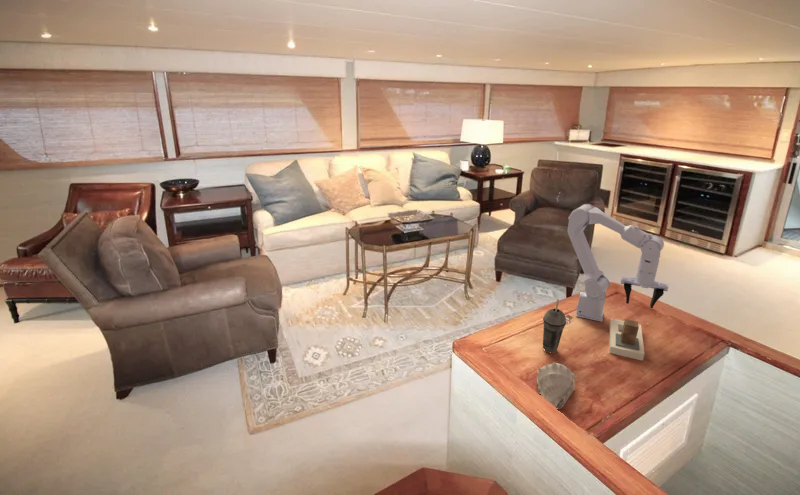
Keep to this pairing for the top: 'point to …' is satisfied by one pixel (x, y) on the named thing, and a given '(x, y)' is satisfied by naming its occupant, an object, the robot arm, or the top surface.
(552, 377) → the seashell
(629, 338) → the walnut block
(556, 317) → the beverage cup
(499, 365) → the top surface
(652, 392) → the top surface
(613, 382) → the top surface
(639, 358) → the pocket board
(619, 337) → the slate mat
